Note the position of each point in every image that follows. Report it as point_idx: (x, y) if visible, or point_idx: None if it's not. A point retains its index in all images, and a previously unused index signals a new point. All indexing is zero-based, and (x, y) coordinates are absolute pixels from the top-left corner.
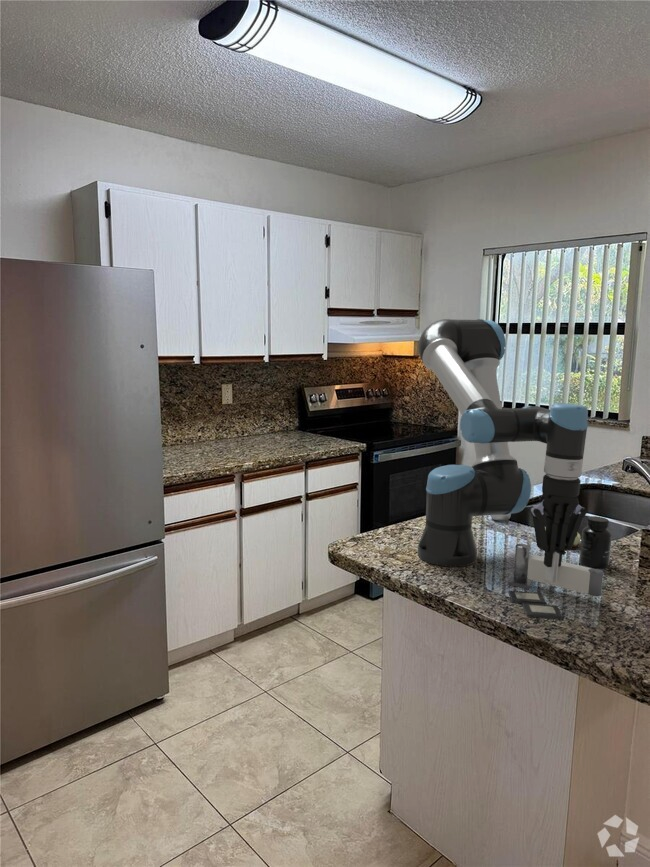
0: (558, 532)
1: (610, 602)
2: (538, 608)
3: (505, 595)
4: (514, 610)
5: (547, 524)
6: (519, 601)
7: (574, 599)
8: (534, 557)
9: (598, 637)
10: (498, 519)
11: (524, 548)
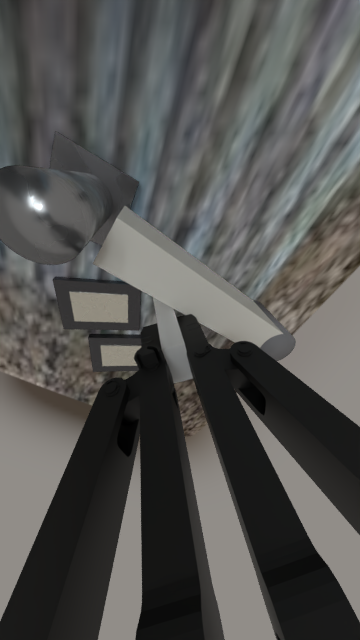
0: (221, 460)
1: (273, 301)
2: (117, 355)
3: (47, 291)
4: (71, 352)
5: (148, 555)
6: (81, 328)
7: None
8: (120, 256)
9: (186, 396)
10: None
11: (53, 264)
